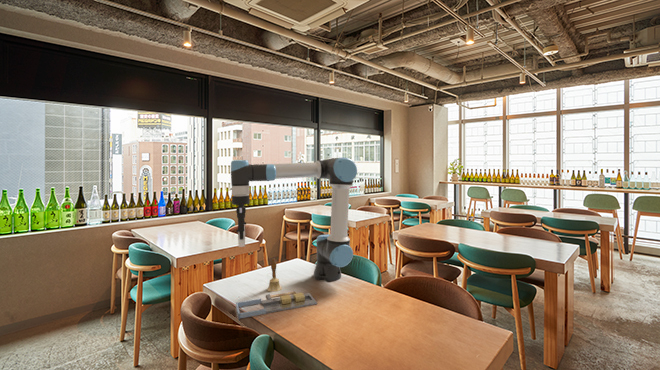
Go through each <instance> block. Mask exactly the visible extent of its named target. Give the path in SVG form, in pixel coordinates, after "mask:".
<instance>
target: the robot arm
mask: <svg viewBox="0 0 660 370" xmlns="http://www.w3.org/2000/svg"><path fill="white" fill-rule="evenodd" d="M357 174H358V168H357V165H356V163H355V162H354V161H353V160H352V159H351V158H348V157H344V156H343V157H333V158H328V159H321V160H320V159H319V160H315V162H293V163H264V164H262V163H260V164H259V163H258V164H256V163H255V164H254V163H253V164H250V162H249V160H247V159H245V160H244V159H235V160H232V161H231V163H230V181H231V182H230V184H231V186H230V188H229V190H230V191H231V204H232V205H235V206H237V207H236V210H235V211H236V212H235V213H236V218H237V229H236V233H237V238H238V239H237V241H238V242H237V243H238V244H237V245H238V248H239V247H240V248H241V247H242V248H243V247H246V225H247V222H246V221H245V218H246V211H247V209H246V207H245V205H249V204H250V202H251V201H250V200H251V199H250V182H270V181H275V180H281V179H283V180H284V179H298V178H300V179H301V178H316V179H318V180H319V179H323V180H329V183H328V184H329V186H330V187H331V208H330V209H331V210H330V231H329V233H330V234H320V235H318V236H317V237H316V264H315V267H314V270H313V278H314V279H315V280H317V281H325V282H335V281H338V280H339V279H341V278H342V271H341V270H342V269H341V268H344V267H346V266H348V265H349V263H351V262H352V260H353V257H354V250H353V249H352V247H351V239H350V237H349V236H348V228H349V227H348V225H349V202H350V189H351V187H353V185H354V184H353V182H354V179H355V178H357V177H356V176H357Z"/></svg>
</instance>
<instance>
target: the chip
mask: <svg viewBox="0 0 660 370" xmlns="http://www.w3.org/2000/svg"><path fill="white" fill-rule="evenodd" d="M290 296H291V295H284V296H279V298H280V303H281V305H287V304H291V297H290Z"/></svg>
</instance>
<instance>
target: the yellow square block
mask: <svg viewBox="0 0 660 370" xmlns="http://www.w3.org/2000/svg"><path fill="white" fill-rule="evenodd" d="M292 295H293V301H294V302H295V303H298V302H304V301H305V296H304V293H303V292H296V294H292Z"/></svg>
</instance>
